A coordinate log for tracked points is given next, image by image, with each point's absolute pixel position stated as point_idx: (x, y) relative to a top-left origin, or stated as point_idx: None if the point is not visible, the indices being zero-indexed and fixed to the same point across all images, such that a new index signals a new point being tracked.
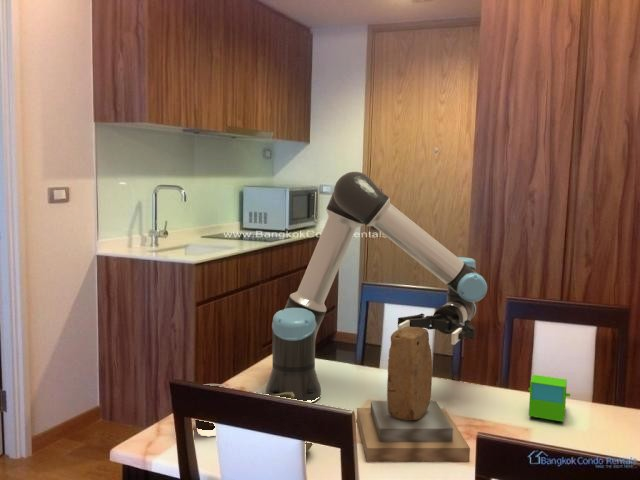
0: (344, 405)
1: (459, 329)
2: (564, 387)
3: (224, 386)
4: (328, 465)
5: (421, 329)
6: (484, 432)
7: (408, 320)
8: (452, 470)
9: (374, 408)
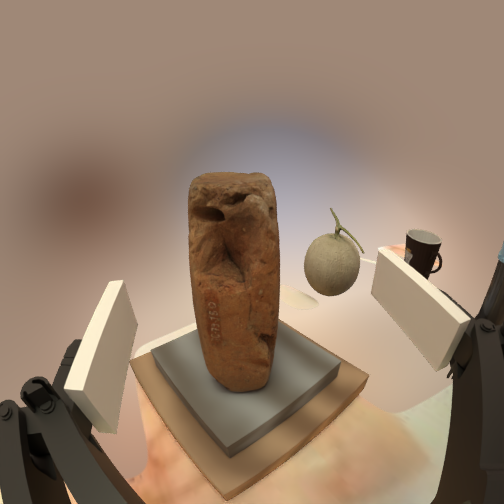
0: (426, 409)
1: (81, 351)
2: None
3: (431, 243)
4: (283, 295)
5: (208, 181)
6: (127, 479)
7: (459, 318)
8: (152, 348)
9: (309, 342)
